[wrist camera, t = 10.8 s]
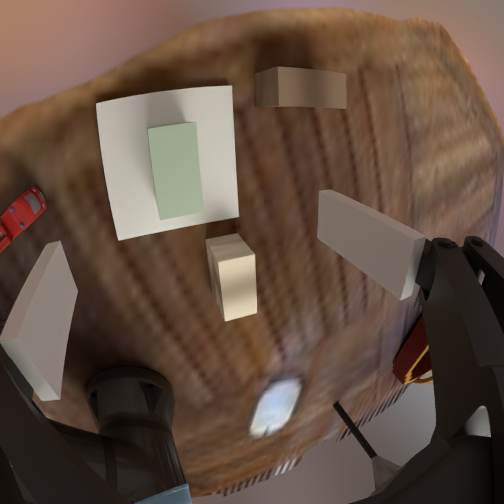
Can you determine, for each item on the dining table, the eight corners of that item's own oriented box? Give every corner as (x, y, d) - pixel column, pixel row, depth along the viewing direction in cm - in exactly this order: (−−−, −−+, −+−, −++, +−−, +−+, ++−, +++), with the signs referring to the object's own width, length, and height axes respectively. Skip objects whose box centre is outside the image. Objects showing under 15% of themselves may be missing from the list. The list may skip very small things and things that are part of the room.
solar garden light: (316, 404, 64) (379, 494, 39) (356, 382, 67) (422, 463, 42) (315, 423, 70) (368, 502, 46) (352, 403, 73) (407, 476, 48)
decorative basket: (436, 267, 63) (476, 297, 49) (476, 287, 72) (506, 311, 59) (371, 369, 73) (396, 406, 60) (422, 369, 83) (445, 396, 70)
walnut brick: (315, 77, 30) (345, 73, 25) (316, 107, 32) (346, 108, 27) (254, 73, 28) (277, 66, 23) (255, 106, 30) (279, 106, 25)
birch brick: (240, 286, 40) (257, 312, 35) (212, 293, 38) (225, 321, 33) (237, 232, 36) (254, 254, 31) (205, 239, 35) (218, 262, 30)
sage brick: (192, 194, 31) (204, 211, 26) (156, 201, 29) (160, 220, 24) (185, 121, 27) (196, 121, 22) (146, 127, 26) (147, 128, 21)
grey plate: (236, 214, 35) (238, 216, 34) (118, 236, 30) (118, 240, 30) (229, 86, 27) (231, 85, 27) (97, 103, 23) (95, 103, 22)
